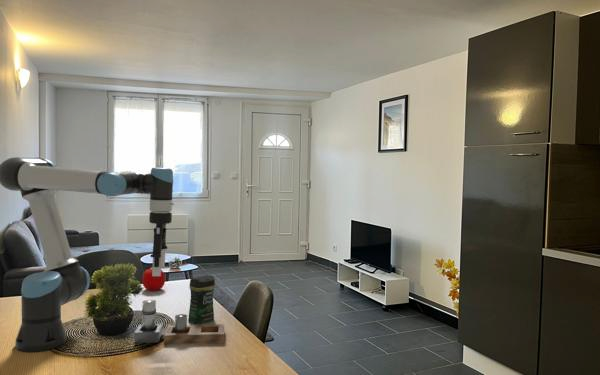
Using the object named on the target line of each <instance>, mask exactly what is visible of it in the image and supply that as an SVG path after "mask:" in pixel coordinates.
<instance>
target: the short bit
mask: <svg viewBox="0 0 600 375" xmlns="http://www.w3.org/2000/svg"><path fill="white" fill-rule="evenodd" d="M187 323H188V315H187V314H184V313H179V314H175V316H174V325H175V333H187V325H188V324H187Z"/></svg>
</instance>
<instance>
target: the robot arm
mask: <svg viewBox="0 0 600 375" xmlns="http://www.w3.org/2000/svg"><path fill="white" fill-rule="evenodd" d="M0 185H1V186H2V187H4V189H7V190H9V191H16V192H17V191H19V192H20V194H21V197H22V200H25V201H26V202H28V204H29V208H30V212H31V214H32V219H33V221H34V222H33V223H34V225H35V228H36V232H37V236H38V239H39V242H40V246H41V250H42V252H43V256H44V259H45V262H46V263H45V264H46V267H45V268H44V270H43V271H40V272H35V273H32V274H29V275H28V276H26V277H24V278H23V281H22V283H21V289H20V294H21V324H20V327H19V329H18V333H17V335H16V338H15V349H16V350H17V351H21V352H26V353H27V352H28V353H36V352H43V351H48V350H53V349H57V348H59V347H61V346H62V345H64V344H65V343H66V342H67V331H66V329H65V327H64V324H63V320H62V306H64V305H66V304H68V303H70V302H73V301H76V300H78V299H79V298H81V297H82V296H84V295H85V293H87V291H88V289H89V288H90V285H91V278H90V273H89V272H88V270H87V269H85V268H84V267H83V266H80V262H79V259H76V258H74V257H73V255H72V252H71V248H70V244H69V240H68V237H67V234H66V230H65V227H64V224H63V221H62V216H61V213H60V210H59V207H58V203H57V199H56V197H55V194H56V193H57V191H63V192H64V191H65V192H75V193H85V194H86V193H87V194H88V193H89V194H100V195H103V196H106V197H117V196H124V195H133V194H137V195H138V194H140V195H142V194H143V195H149V211H150V212H149V220H148V221H149V223H150V224H155V227H154V228H153V245H152V254H150V258H152V268H151V269H152V276H161V270H162V268H166V267H165V266H166V265H165V264H166V261H165V260H166V250H167V249H168V245H167V242H166V241H167V240H166V238H167V226H166V225H167V224H171V223H172V219H173V218H172V216H173V214H172V209H173V206H174V205H175V203H174V202H173V191H174V190H173V187H174V173H173V170H172V169H171V168H169V167H152V168H151V169H150V172H142V171H141V172H140V171H139V172H137V171H130V170H129V171H127V170H126V171H120V172H116V171H115V172H114V171H103V170H93V169H92V170H91V169H90V170H89V169H81V168H80V169H77V168H70V167H69V168H67V167H57V166H56V164H55V163H54V162H53V161H52V160H49V159H47V158H41V157H17V156H16V157H9V158H8V159H4V160H3V161H2V162H1V163H0ZM60 345H61V346H60ZM58 346H59V347H58Z"/></svg>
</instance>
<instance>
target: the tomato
mask: <svg viewBox="0 0 600 375" xmlns="http://www.w3.org/2000/svg"><path fill="white" fill-rule="evenodd" d="M165 276H166V275H165V273H164V270H162V269H161V276H152V268H147V269H146V270H144V272H143V273H142V282H141V283H142V285H143V288H144V289H146V290H147V291H158V290H159V291H160V290H161V289H163V287H164V286H165V283H166V277H165Z"/></svg>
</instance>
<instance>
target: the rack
mask: <svg viewBox="0 0 600 375" xmlns="http://www.w3.org/2000/svg"><path fill="white" fill-rule="evenodd" d="M224 343H225V323H224V324H223V323H221V324H216V323H215V324H200V325H196V324H187V333H175V324H173V325H171V324H169V325H167V327H166V329H165V332H164V335H163V345H186V344H187V345H189V344H195V345H196V344H224Z"/></svg>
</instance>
